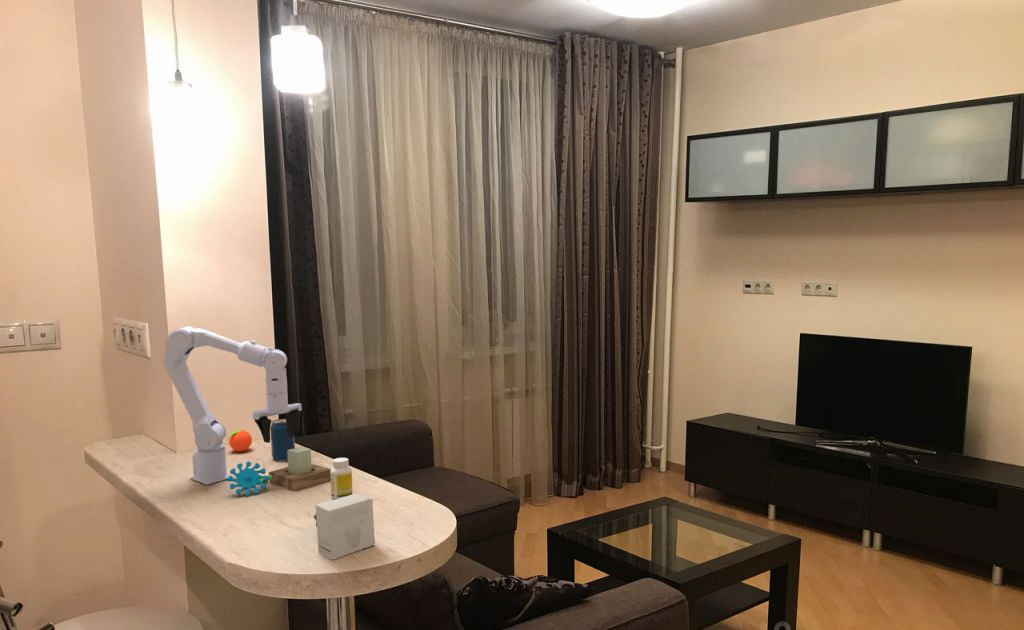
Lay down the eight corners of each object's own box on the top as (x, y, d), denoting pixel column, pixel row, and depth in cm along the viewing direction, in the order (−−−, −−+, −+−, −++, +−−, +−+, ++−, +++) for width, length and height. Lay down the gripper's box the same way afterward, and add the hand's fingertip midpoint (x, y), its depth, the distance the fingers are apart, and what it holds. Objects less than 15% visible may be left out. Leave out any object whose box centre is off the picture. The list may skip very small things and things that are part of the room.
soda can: (299, 457, 220) (298, 419, 219) (282, 462, 214) (280, 424, 213) (285, 454, 224) (283, 417, 223) (267, 459, 218) (265, 421, 217)
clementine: (235, 456, 222) (234, 434, 222) (222, 453, 226) (221, 431, 226) (256, 450, 229) (255, 428, 229) (243, 447, 233) (242, 426, 232)
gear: (226, 493, 181) (229, 459, 188) (225, 504, 185) (227, 471, 192) (271, 493, 185) (272, 460, 192) (269, 504, 189) (270, 471, 196)
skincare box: (360, 537, 155) (358, 491, 154) (375, 546, 151) (374, 498, 150) (316, 551, 148) (314, 503, 147) (331, 560, 143) (329, 511, 143)
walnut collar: (269, 482, 195) (269, 471, 195) (306, 471, 204) (306, 461, 204) (294, 490, 188) (293, 480, 187) (331, 479, 197) (331, 469, 197)
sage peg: (288, 481, 196) (287, 450, 195) (302, 477, 199) (301, 446, 198) (298, 484, 193) (296, 452, 192) (311, 480, 196) (310, 449, 196)
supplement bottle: (356, 494, 184) (355, 458, 183) (343, 501, 179) (342, 463, 178) (340, 492, 186) (338, 455, 185) (326, 498, 181) (325, 461, 180)
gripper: (261, 398, 192) (263, 446, 193) (306, 390, 203) (308, 436, 204) (247, 395, 197) (250, 443, 198) (292, 387, 208) (294, 432, 209)
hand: (278, 439), depth 201 cm, fingers open, 7 cm apart
